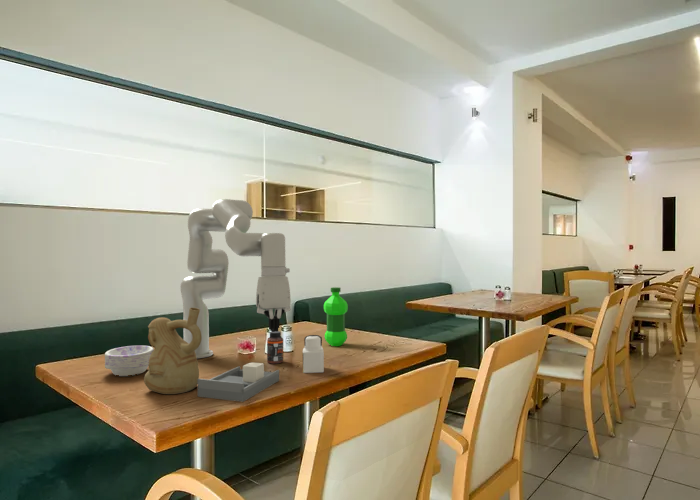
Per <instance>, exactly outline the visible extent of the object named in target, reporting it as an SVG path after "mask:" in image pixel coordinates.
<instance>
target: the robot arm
mask: <svg viewBox="0 0 700 500" xmlns="http://www.w3.org/2000/svg"><path fill="white" fill-rule="evenodd" d="M253 213H254V211H253V208H252V205H251V204H250V203H249V202H248V201H246V200H242V199H241V200H240V199H231V198H229V199H228V198H225V199H217V200H216V201H215V202H214V203H213V204H212V207H211V208H195V209H193V210H192V211H191V212H189V214H188V218H187V228H188V233H189V234H188V235H189V240H188V241H189V243H188V251H187V252H188V253H187V261H186V262H187V263H186V264H187V269H188V271H189V272H190V273H192V274H202V275H190V276H186V277H185V278H184V279H183V280H182V281H181V282H180V288H179V289H180V294H181V299H182V307H183V314H182V315H183V319H182V320H188V316H189V309H190V308H198V309H199V310H200V312H199V315H198V319H197V324H196V325H197V326H198V327H199V329H200V331H201V337H202V338H201V343H200V345H199V347H198V348H197V349H196V350H195V353H196V358H197V360H198V359H204V358H208V357H212V355H213V354H214V351H213V350H211V349H210V347H209V346H210V326H209V324H210V322H209V319H210V318H209V315H210V313H209V309H208V306H207V305H206V303H204V301H203V300H210V299H211V300H213V299H218V298H221V297H223V296H224V294H225V292H226V288H227V287H226V286H227V281H228V272H229V255H228V254H227V252H226V251H224V250H223V249H218V248H216V249H215V248H213V247H212V246H213V237H212V235H211V233H210V232H218V233H219V232H220V233H221V232H224V233H225V234H224V235H225V236H224V238H225V242H226V245H227V246H228V248H229V249H231V251H232V252H234V253H235V254H236V255H237V256H240V257H260V261H261V262H260V264H261V265H260V269H261V271H260V274H261V275H260V276H259V277H258V278H257V285H256V296H255V305H256V307H257V308H256V313H258V314H262V315H264V316H265V317H267V318H268V329H269V330H270V332H275V331H276V332H277V331H279V329H280V319H281V318H282V316H283V315H284V313H287V312H289V311H291V302H292V301H291V288H290V281H289V277H288V276H287V273H290V272H291V271H290V268H288V267H287V266H286V237H285V234H283V233H280V232H265V233H263V232H262V233H261V232H248V231H249V229H250V227H251V220H252V218H253ZM203 274H204V275H203ZM205 274H208V275H205ZM273 310H274V311H273ZM183 340H185V341H186V342H187V343H190V342H191V341H192V333H191V332H190V331H189V330H188V329H185V328H183Z"/></svg>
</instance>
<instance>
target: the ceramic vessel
mask: <svg viewBox="0 0 700 500" xmlns="http://www.w3.org/2000/svg"><path fill="white" fill-rule="evenodd" d="M199 312H200V310H199V309H198V308H190V309H189V316H188V320H183V319H175V320H174V319H173V320H171V319H170V318H168V317H164V316H163V317H162V316H161V317H156V318H154V319H153V320H151V322H150V323H149V324H148V325H147V328H148V335H147V339H148V342H149V344H150V345H151V346H150V347H153V349H154V350H153V352H152V353H151V355H150V358H149V365H148V371H147V372H146V373H145V374H144V377H143V382H144V385H145V387H146V388H147V389H148V390H149V391H151V390H152V391H151V392H155V393H158V394H164V395H177V394H184V393H186V392H190V391H192V390H194V389H195V388H197V387H198V380H197V379H200V368H199V363H198V359H197V358H196V353H195V350H196V349H197V348H198V347H199V345H200V343H201V338H202V337H201V331H200V329H199V327H198V326H197V325H196V324H197V319H198V315H199ZM179 328H180V329H184V328H185V329H188V330H189V331H190V332H191V333H192V341H191V342H190V343H187V342H186V341H185V340H184V338H183V337H181V335H179V333H178V332H177V329H179Z"/></svg>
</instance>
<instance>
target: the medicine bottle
mask: <svg viewBox="0 0 700 500" xmlns="http://www.w3.org/2000/svg"><path fill="white" fill-rule="evenodd" d="M303 341H304V345H303V346H304V347H303V348H302V373H303V374H313V373H314V374H316V373H324V372H325V360H324V359H325V356H324V355H325V354H324V348H323V338H322V335H321V336H320V335H318V334H310V335H306V336H305V337H304V338H303Z"/></svg>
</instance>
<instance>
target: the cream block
mask: <svg viewBox="0 0 700 500" xmlns="http://www.w3.org/2000/svg"><path fill="white" fill-rule="evenodd" d="M242 369H243V381H246V382H256V381H258V380H259V379H261V378H263V377H264V371H265V364H264V362H249V363H246V364H244V365H242Z"/></svg>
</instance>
